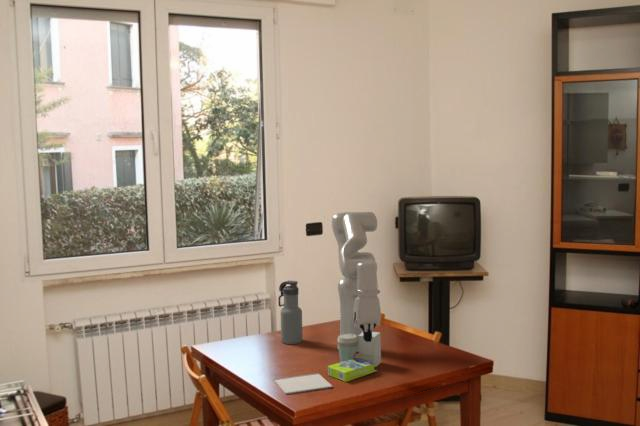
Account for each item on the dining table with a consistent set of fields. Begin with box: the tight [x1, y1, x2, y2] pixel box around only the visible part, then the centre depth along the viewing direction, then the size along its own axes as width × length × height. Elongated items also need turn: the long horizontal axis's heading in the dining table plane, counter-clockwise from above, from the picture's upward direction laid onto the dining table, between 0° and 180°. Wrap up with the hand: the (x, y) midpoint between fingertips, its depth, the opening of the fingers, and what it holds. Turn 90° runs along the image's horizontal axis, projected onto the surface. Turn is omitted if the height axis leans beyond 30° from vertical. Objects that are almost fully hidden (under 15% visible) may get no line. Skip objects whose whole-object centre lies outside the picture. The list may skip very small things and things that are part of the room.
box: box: [327, 357, 378, 383], centre depth 254 cm, size 10×4×17 cm
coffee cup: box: [336, 333, 358, 363], centre depth 264 cm, size 8×8×12 cm
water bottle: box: [277, 279, 303, 345], centre depth 298 cm, size 10×10×28 cm
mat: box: [273, 372, 334, 396], centre depth 244 cm, size 18×16×1 cm
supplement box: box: [357, 331, 382, 368], centre depth 265 cm, size 7×7×13 cm
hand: (367, 340), depth 251 cm, fingers closed
